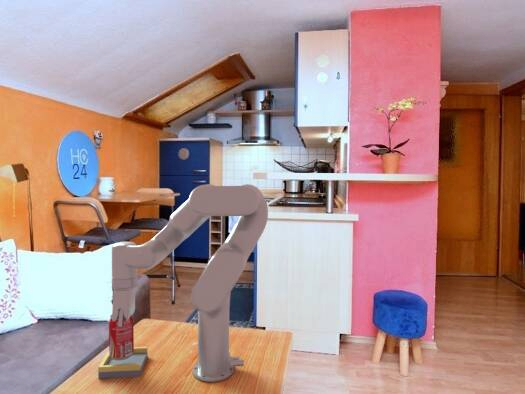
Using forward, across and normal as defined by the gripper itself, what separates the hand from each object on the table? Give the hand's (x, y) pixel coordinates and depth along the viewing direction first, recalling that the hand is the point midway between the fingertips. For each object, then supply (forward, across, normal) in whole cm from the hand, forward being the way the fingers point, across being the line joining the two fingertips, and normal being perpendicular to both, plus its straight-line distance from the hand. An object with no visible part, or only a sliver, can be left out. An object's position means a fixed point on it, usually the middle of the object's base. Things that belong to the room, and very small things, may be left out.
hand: (125, 338), depth 118 cm
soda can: (+5, +2, -1) cm, 5 cm away
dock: (+9, 0, 0) cm, 9 cm away
